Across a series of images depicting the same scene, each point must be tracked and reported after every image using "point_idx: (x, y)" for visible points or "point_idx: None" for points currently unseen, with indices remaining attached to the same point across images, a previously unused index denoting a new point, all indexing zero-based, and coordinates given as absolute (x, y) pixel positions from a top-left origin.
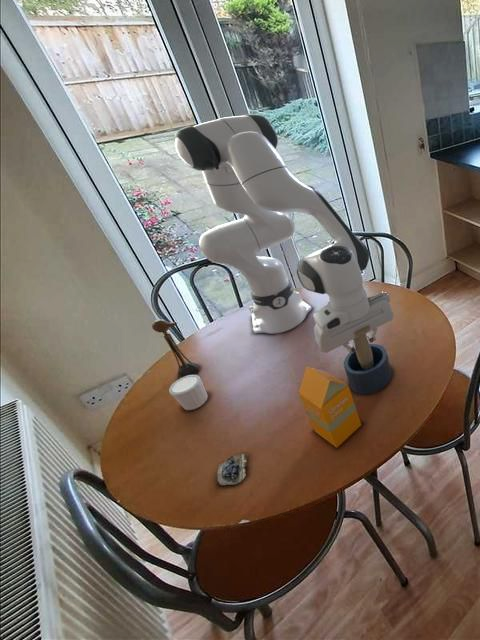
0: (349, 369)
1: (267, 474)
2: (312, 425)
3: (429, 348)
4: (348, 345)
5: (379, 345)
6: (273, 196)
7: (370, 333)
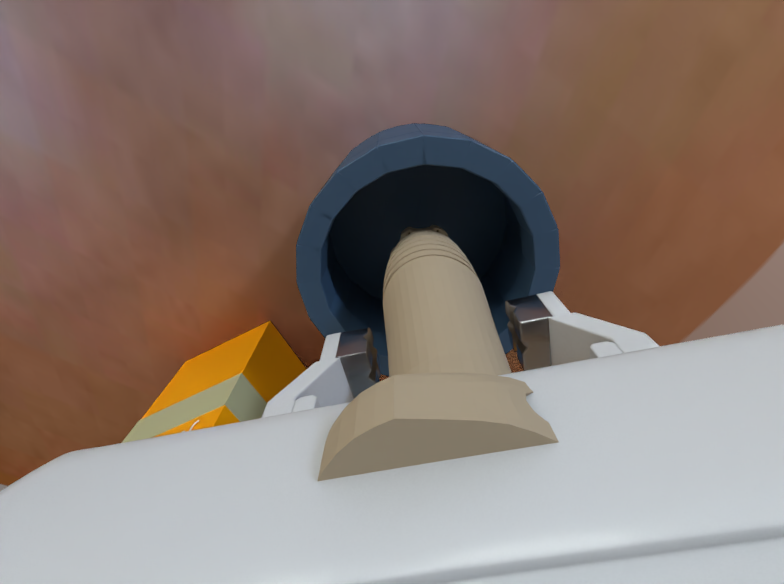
0: (323, 314)
1: (65, 427)
2: (170, 383)
3: (736, 179)
4: (336, 399)
5: (545, 207)
6: None
7: (557, 332)
